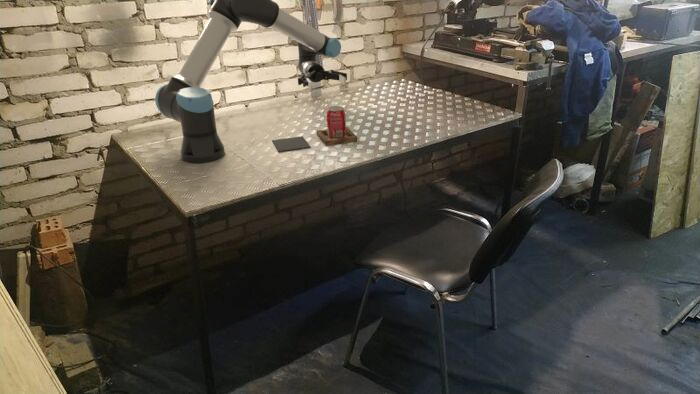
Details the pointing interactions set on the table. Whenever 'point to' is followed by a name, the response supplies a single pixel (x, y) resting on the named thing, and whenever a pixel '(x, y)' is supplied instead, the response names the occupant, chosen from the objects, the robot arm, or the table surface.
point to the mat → (291, 144)
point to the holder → (336, 141)
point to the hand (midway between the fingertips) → (328, 83)
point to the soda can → (336, 122)
